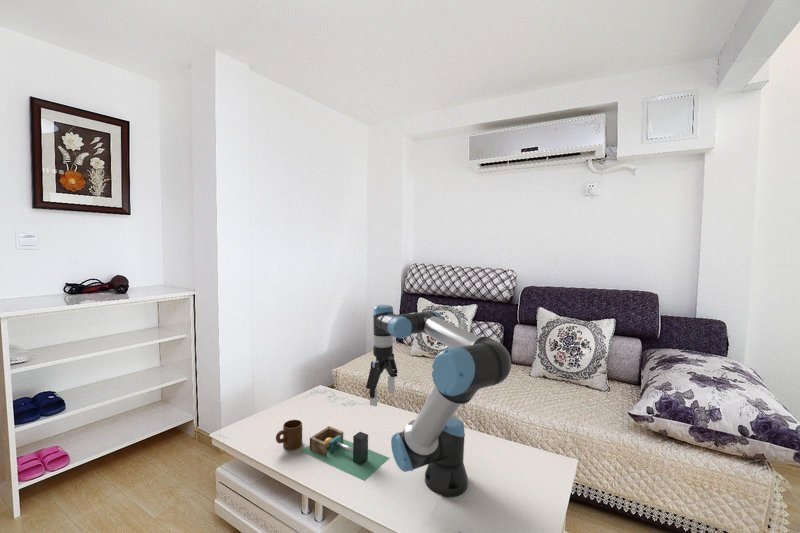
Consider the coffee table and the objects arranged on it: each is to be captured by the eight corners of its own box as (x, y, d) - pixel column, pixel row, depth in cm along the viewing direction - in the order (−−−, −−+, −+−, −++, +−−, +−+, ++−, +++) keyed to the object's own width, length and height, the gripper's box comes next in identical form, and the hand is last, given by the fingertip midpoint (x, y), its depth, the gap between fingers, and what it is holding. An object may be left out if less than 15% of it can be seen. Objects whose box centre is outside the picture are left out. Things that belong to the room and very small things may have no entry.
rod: (369, 458, 139) (369, 433, 138) (359, 466, 134) (360, 440, 133) (338, 445, 147) (338, 421, 146) (328, 452, 142) (328, 428, 141)
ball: (333, 434, 147) (327, 436, 149) (327, 439, 143) (320, 441, 145) (337, 444, 146) (330, 446, 148) (330, 449, 143) (323, 450, 145)
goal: (343, 443, 149) (343, 431, 149) (324, 456, 140) (324, 444, 139) (328, 437, 153) (328, 426, 153) (309, 449, 144) (309, 438, 144)
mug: (282, 459, 138) (282, 435, 138) (269, 452, 142) (269, 429, 142) (306, 444, 149) (306, 422, 148) (293, 438, 153) (293, 417, 152)
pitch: (389, 459, 140) (389, 457, 140) (364, 482, 126) (364, 480, 126) (328, 434, 157) (328, 433, 157) (300, 452, 143) (300, 451, 143)
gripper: (390, 336, 152) (389, 386, 153) (356, 351, 130) (356, 409, 131) (406, 339, 148) (405, 389, 149) (374, 355, 126) (373, 413, 127)
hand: (382, 398), depth 140 cm, fingers open, 13 cm apart
